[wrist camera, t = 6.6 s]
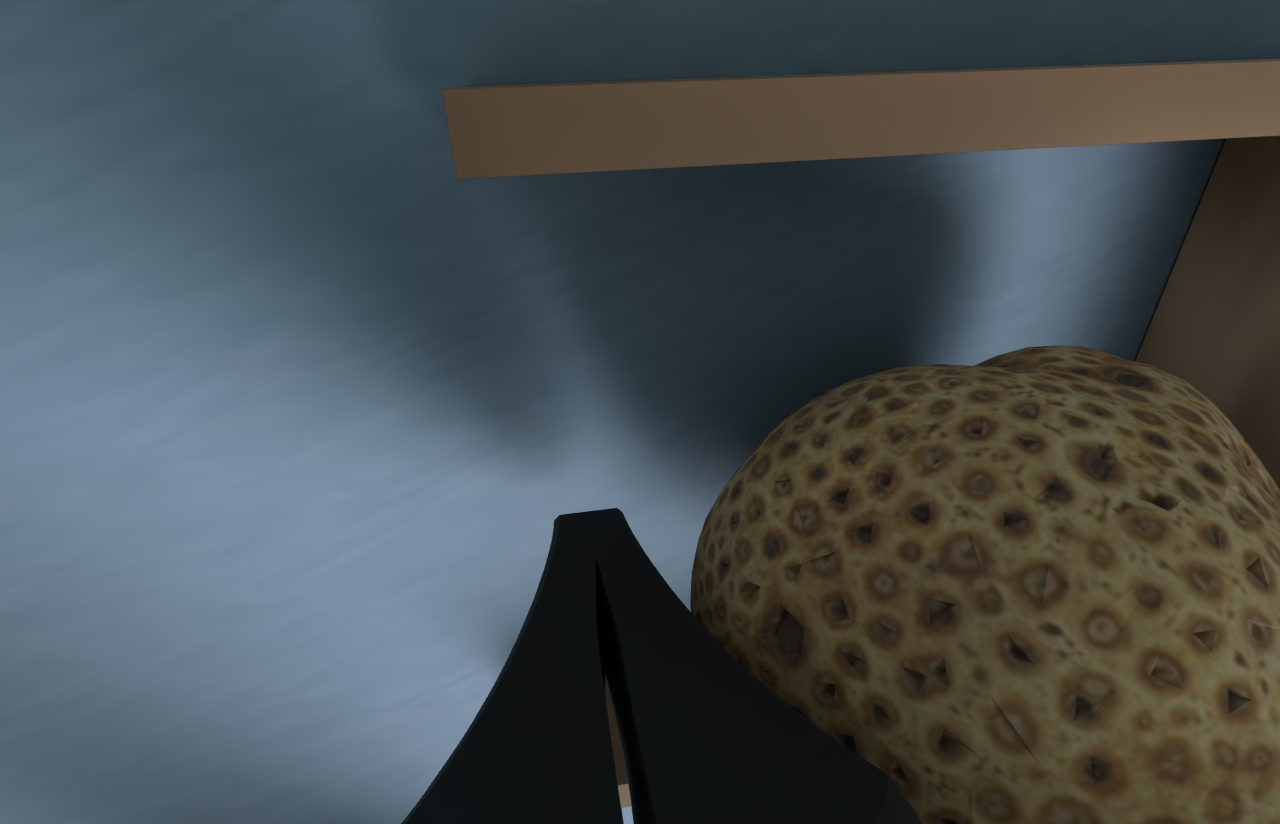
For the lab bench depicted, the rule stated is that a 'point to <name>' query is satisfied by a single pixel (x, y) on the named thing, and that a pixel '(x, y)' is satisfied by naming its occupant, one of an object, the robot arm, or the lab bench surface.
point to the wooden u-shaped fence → (950, 123)
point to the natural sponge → (1016, 589)
